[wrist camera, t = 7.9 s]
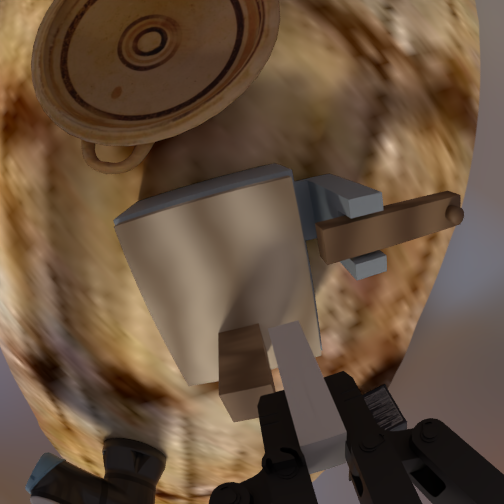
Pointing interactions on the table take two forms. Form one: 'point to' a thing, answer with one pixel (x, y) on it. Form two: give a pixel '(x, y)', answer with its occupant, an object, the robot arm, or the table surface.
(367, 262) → the toolbox
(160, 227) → the board with wooden block
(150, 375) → the table surface
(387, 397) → the small box
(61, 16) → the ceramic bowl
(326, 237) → the latch
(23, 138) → the table surface
